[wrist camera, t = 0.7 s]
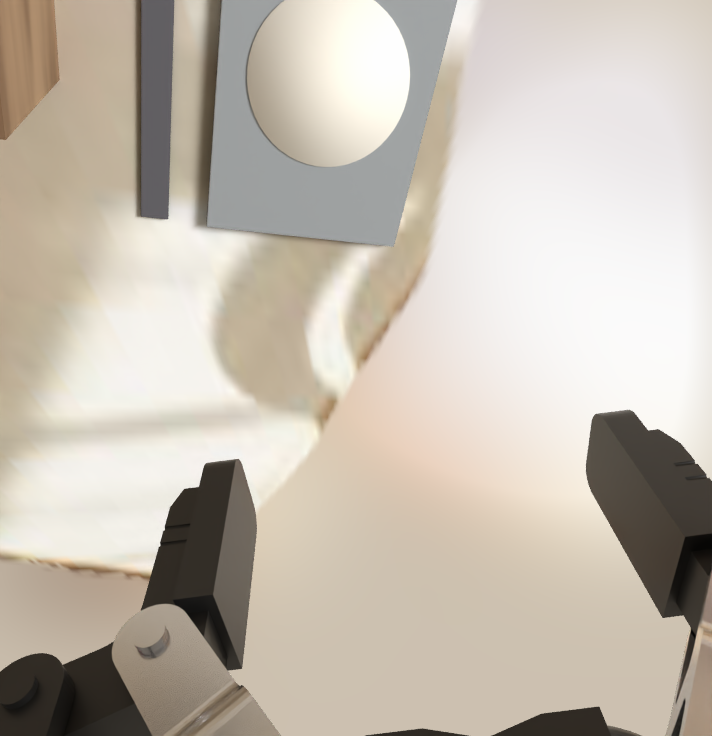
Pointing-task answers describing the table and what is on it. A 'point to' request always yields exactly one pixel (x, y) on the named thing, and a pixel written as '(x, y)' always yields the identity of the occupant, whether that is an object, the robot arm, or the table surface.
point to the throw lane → (302, 113)
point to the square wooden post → (25, 58)
